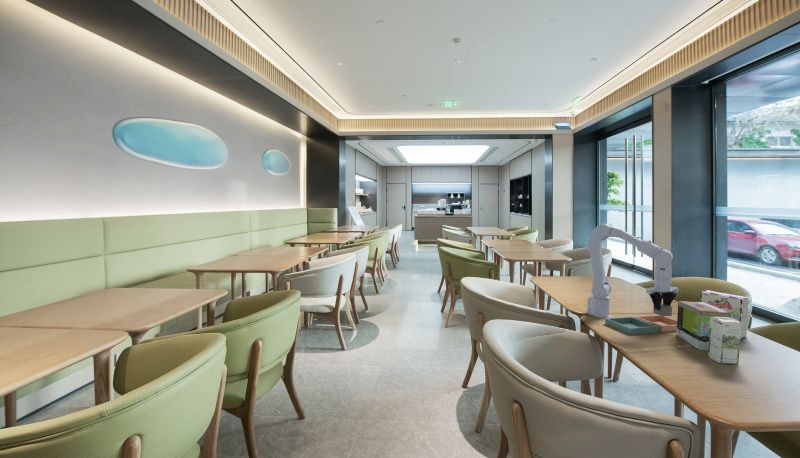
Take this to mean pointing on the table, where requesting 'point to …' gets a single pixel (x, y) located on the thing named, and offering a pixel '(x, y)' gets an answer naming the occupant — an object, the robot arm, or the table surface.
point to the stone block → (664, 310)
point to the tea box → (697, 322)
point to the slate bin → (631, 325)
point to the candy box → (729, 306)
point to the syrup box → (724, 340)
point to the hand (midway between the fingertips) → (661, 309)
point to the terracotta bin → (660, 322)
